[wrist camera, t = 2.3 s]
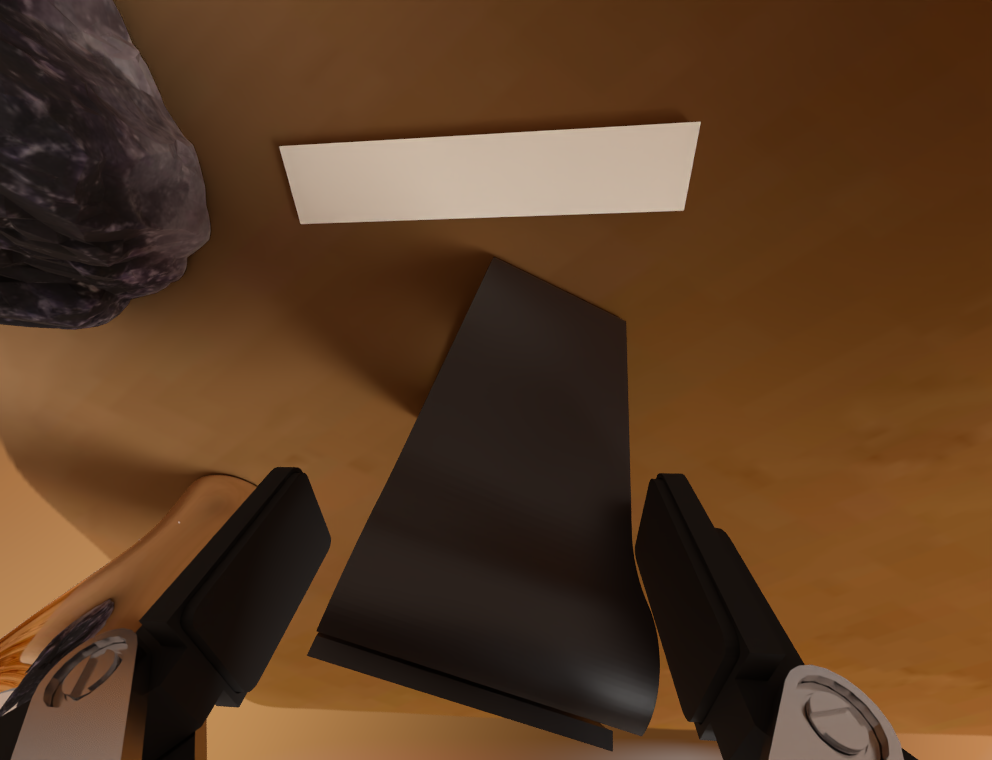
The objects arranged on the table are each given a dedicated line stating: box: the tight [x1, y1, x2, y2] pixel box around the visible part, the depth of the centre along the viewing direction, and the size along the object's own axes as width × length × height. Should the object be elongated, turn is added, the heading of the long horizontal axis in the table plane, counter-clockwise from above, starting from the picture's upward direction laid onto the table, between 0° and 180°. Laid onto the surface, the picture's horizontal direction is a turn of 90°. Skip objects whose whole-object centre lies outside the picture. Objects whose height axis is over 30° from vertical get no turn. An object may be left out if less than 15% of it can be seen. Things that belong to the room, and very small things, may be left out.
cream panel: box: [279, 122, 701, 224], centre depth 13 cm, size 14×2×1 cm, turn 92°
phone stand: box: [307, 257, 660, 751], centre depth 11 cm, size 9×6×12 cm, turn 155°
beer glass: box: [0, 475, 257, 717], centre depth 17 cm, size 7×7×15 cm
